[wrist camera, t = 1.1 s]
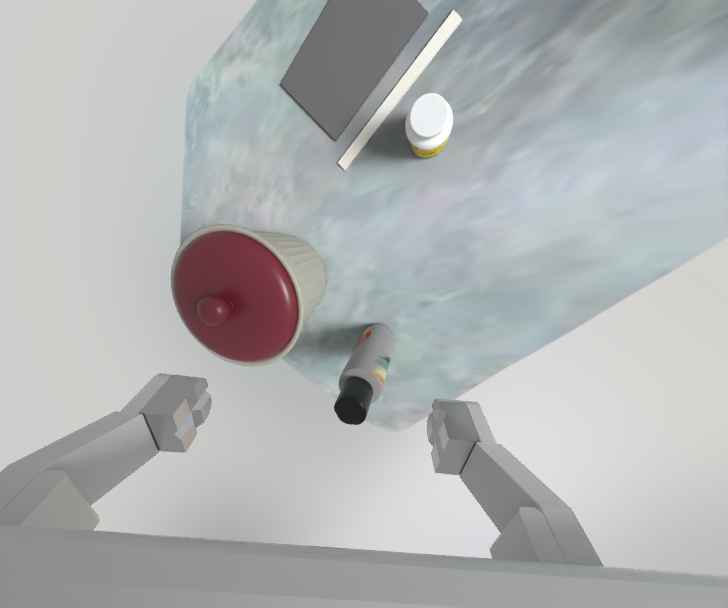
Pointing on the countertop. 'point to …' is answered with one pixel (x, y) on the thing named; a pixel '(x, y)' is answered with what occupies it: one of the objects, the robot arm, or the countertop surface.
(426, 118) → the supplement bottle
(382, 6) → the mat
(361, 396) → the lotion bottle
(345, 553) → the robot arm
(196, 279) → the canister
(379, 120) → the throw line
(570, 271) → the countertop surface
